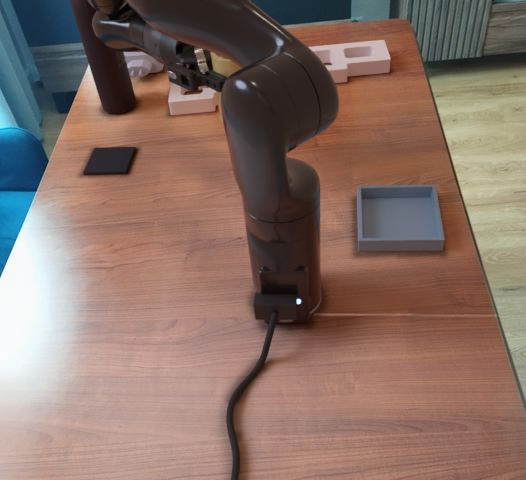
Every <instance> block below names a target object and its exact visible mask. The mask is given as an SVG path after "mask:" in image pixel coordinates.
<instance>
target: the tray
mask: <svg viewBox="0 0 526 480" xmlns="http://www.w3.org/2000/svg"><path fill="white" fill-rule="evenodd" d="M356 217H357V218H356V219H357V220H356V221H357V222H356V223H357V251H358V252H431V251H432V252H443V250H444V246H445V243H446V237H445V233H444V227H443V226H444V225H443V220H442V213H441V209H440V202H439V197H438V191H437V184H436V183H434V184H392V185H391V184H387V185H385V184H384V185H383V184H381V185H357V186H356Z"/></svg>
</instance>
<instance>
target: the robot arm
mask: <svg viewBox="0 0 526 480" xmlns="http://www.w3.org/2000/svg"><path fill="white" fill-rule="evenodd" d="M88 2H89V3H90V5H91V6H92V7H93V8H94V9H95V10H97V11H96V12H95V14H94V16H93V19H92V27H93V31H94V33H95V35H96V36H97V38H98V39H99V40H100V41H101V42H102V43H103V44H104V45H106V46H108V47H109V48H111V49H114V50H117V51H121V52H143V53H145V54H147V55H149V56H151V57H153V58H154V59H155V60H157V61H158V62H159V63H161V64H163V65H164V66H165V67H166V72H167V77H168V82H170V83H171V82H172V83H174V84H176V85H178V86H181V87H183V88H185V89H188V90H190V91H189V92H197V90H198V87H200V86H203V88H211V89H213V90H215V91H217V92H221V112H222V119H223V123H222V124H223V128H224V134H225V138H226V142H227V147H228V153H229V157H230V165H231V168H232V173H233V177H234V179H235V182H236V185H237V187H238V189H239V192H240V195H241V201H242V210H243V217H244V225H245V232H246V240H247V247H248V248H247V249H248V255H249V262H250V263H249V264H250V270H251V276H252V284H253V290H254V292H253V293H254V298H253V304H252V305H253V311H254V319H255V320H256V321H258V320H260V321H261V320H263V322H264V324H268V327H267V330H266V334H265V337H264V342H263V345H262V350H261V353H260V356H259V358H258V360H257V362H256V364H255V365H254V367H253V368H252V370H251V371H250V372H249V373H248V375H247V376H246V377H245V378H244V379H243V380H242V381H241V382H240V383H239V384H238V385H237V387H236V388H235V389H234V391H233V392H232V394H231V396H230V397H229V401H228V404H227V409H226V415H225V422H226V423H225V424H226V431H227V434H228V435H227V436H228V439H229V444H230V447H231V454H232V455H231V456H232V465H231V475H230V480H239V475H240V468H241V467H240V466H241V455H240V454H241V453H240V447H239V442H238V438H237V435H236V431H235V424H234V411H235V407H236V403H237V401H238V399H239V397H240V396H241V394H242V393H243V391H244V390H245V389H246V388H247V387H248V386H249V385H250V383H252V381H253V380H254V379H255V378H256V376H257V375H258V374H259V373H260V371H261V370H262V368H263V367H264V366H265V365H264V364H265V362H266V360H267V358H268V355H269V352H270V347H271V345H272V341H273V337H274V334H275V329H276V325H277V324H309V323H310V319H311V317H312V316H313V315H314V314H315V312H316V311H317V310H318V309H319V307H320V305H321V303H322V299H323V291H322V257H321V255H322V254H321V253H322V250H321V247H322V246H321V244H322V242H321V241H322V240H321V239H322V238H321V217H322V215H321V179H320V176H319V173H318V172H317V171H316V169H315V168H314V167H313V166H312V165H310V164H309V163H308V162H306V161H304V160H301V159H298V158H295V157H289V156H287V155H288V153H290V152H292V151H293V150H295V149H296V148H299V147H300V146H302V145H304V144H306V143H308V142H309V141H310V140H313V139H314V138H315V137H317V136H319V135H320V134H322V133H323V132H325V131H326V130H327V129H328V128H330V127H331V126H332V125H333V124H334V122H335V121H336V119H337V117H338V114H339V111H340V96H339V92H338V88H337V85H336V83H335V82H334V80H333V78H332V76H331V74H330V72H329V70H328V69H327V68H326V65H325V63H323V62H322V61H321V60H320V58H319V57H318V56H317V55H316V54H315V53H314V52H313V51H312V50H311V49H310V48H309V47H310V46H308V45H306V44H305V43H304V42H303V41H301V40H300V39H299V38H298V37H297V36H295V35H294V34H293V33H291V32H290V31H289V30H287V28H285V27H284V26H283V25H281V24H280V23H279V22H277V21H276V19H275V20H274V19H273V18H272V17H271V16H270V15H268V14H267V13H266V12H264V11H263V10H262V8H260V7H259V6H257V5H256V4H255V3H253V2H252V1H251V0H88ZM211 52H213V53H216V54H218V55H221V56H223V57H225V58H227V59H229V60H230V61H232V62H234V63H235V64H237V65H238V66H239V67H241V68H242V69H240V70H238V71H236V72H234V73H233V74H231V75H230V76H229V77H228V78H227V77H226V76H224V75H221V74H219V73H217V72H215V71H213V66H212V59H211ZM198 91H199V90H198Z"/></svg>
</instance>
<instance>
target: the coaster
mask: <svg viewBox="0 0 526 480" xmlns="http://www.w3.org/2000/svg"><path fill="white" fill-rule="evenodd" d="M136 149H137V148H136V146H113V147H111V146H110V147H94V148H93V150H92V152H91V154H90V156H89V159H88V161H87V163H86V165H85V168H84V170H83V172H82V174H83V175H84V176H92V175H93V176H94V175H96V176H97V175H99V176H100V175H126V174H127V173H128V171H129V168H130V165H131V162H132V160H133V158H134V154H135V152H136Z"/></svg>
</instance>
